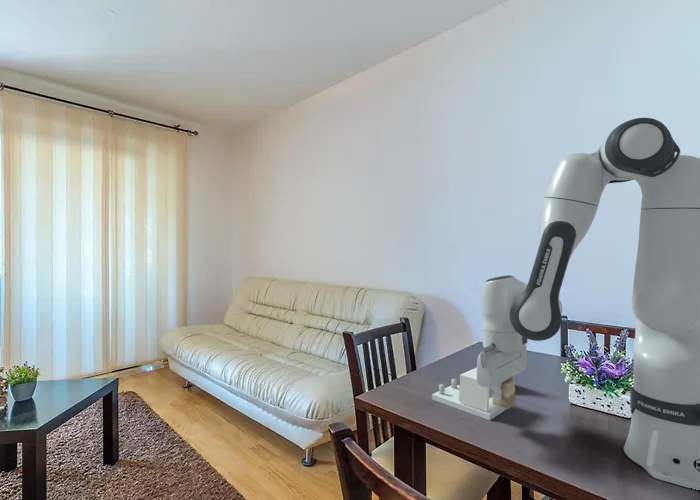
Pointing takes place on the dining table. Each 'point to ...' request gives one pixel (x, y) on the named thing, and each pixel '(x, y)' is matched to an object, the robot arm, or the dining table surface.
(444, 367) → the dining table surface
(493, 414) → the white peg base plate
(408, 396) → the dining table surface
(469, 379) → the cover
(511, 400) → the block
